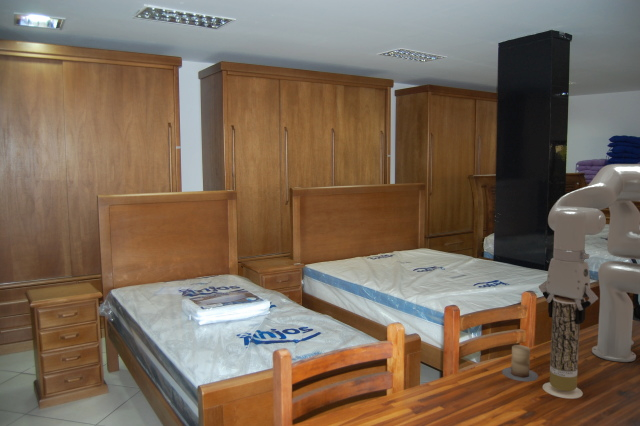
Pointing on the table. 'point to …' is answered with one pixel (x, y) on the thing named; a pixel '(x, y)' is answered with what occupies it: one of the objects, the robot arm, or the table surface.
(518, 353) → the beige rounded cylinder
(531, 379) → the board
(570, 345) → the brown bark cylinder
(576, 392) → the cream pad
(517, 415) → the table surface
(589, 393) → the table surface
